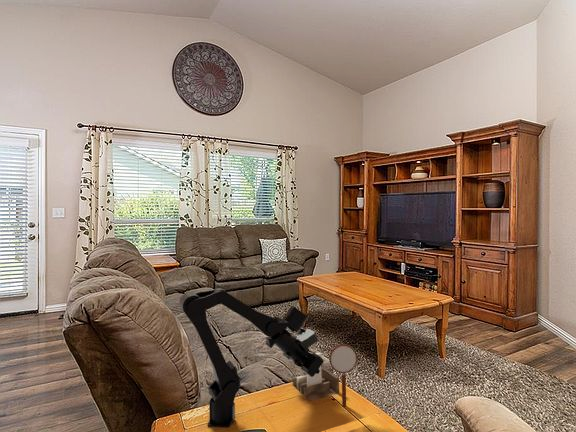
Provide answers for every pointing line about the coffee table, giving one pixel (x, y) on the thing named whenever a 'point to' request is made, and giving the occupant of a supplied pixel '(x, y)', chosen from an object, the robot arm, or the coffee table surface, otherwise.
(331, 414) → the coffee table surface
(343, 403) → the magnifying glass
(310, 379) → the white flat board
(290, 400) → the coffee table surface
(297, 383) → the offcut rack
